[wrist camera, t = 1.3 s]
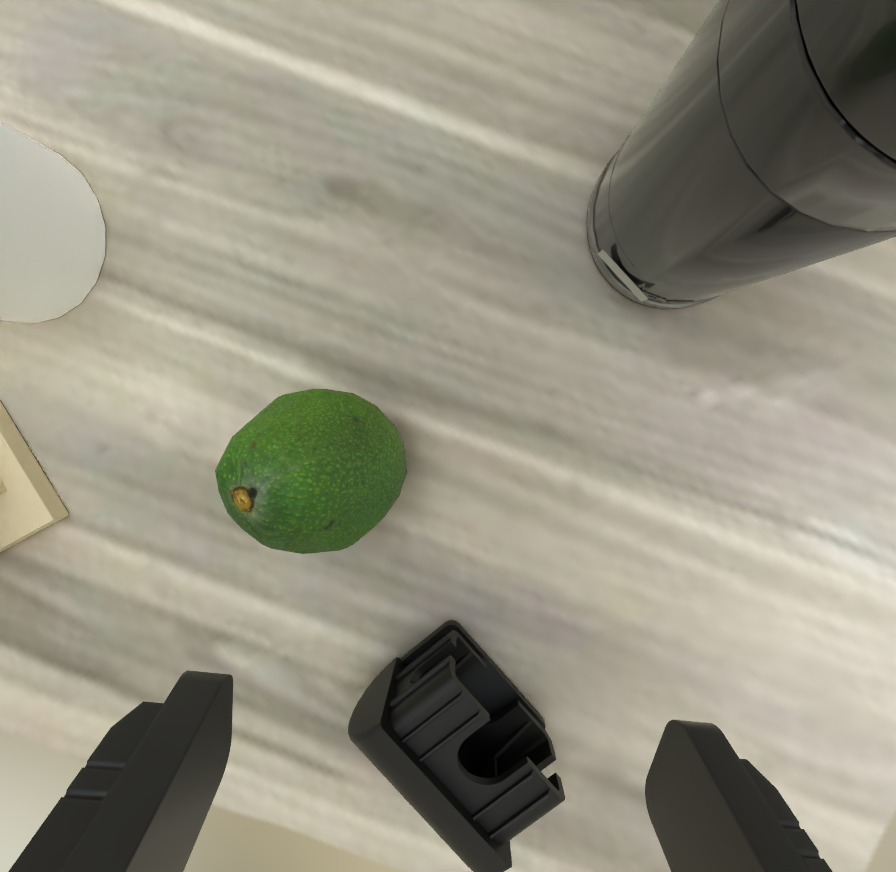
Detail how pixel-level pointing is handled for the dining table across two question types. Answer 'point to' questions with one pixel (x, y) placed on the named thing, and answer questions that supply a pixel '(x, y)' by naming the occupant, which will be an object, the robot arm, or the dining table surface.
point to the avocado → (312, 471)
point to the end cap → (459, 746)
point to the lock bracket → (23, 489)
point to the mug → (45, 232)
